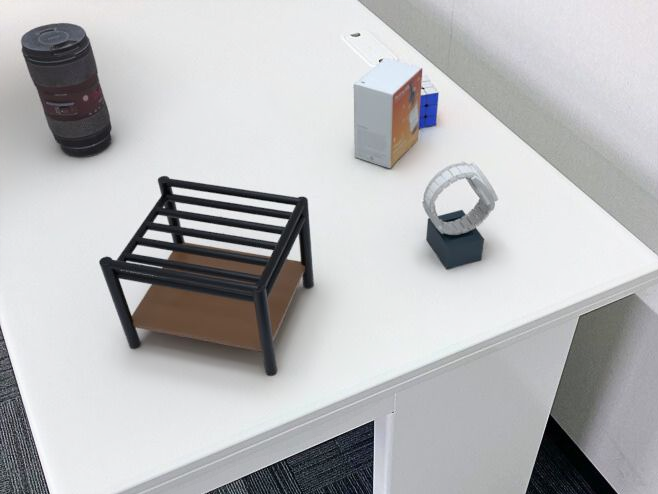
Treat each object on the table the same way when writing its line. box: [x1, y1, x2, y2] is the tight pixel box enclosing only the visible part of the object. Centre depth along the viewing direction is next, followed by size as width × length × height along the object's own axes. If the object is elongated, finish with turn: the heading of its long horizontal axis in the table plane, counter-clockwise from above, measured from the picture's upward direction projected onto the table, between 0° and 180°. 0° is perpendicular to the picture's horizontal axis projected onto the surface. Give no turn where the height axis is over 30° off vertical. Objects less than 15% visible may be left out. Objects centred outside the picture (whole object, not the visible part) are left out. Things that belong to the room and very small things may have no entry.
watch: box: [421, 161, 499, 270], centre depth 81 cm, size 6×8×11 cm
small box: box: [353, 57, 423, 169], centre depth 95 cm, size 8×6×10 cm
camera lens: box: [20, 22, 113, 158], centre depth 95 cm, size 8×8×15 cm
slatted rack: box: [98, 175, 315, 376], centre depth 75 cm, size 16×14×12 cm
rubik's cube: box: [418, 74, 439, 129], centre depth 102 cm, size 5×5×5 cm
